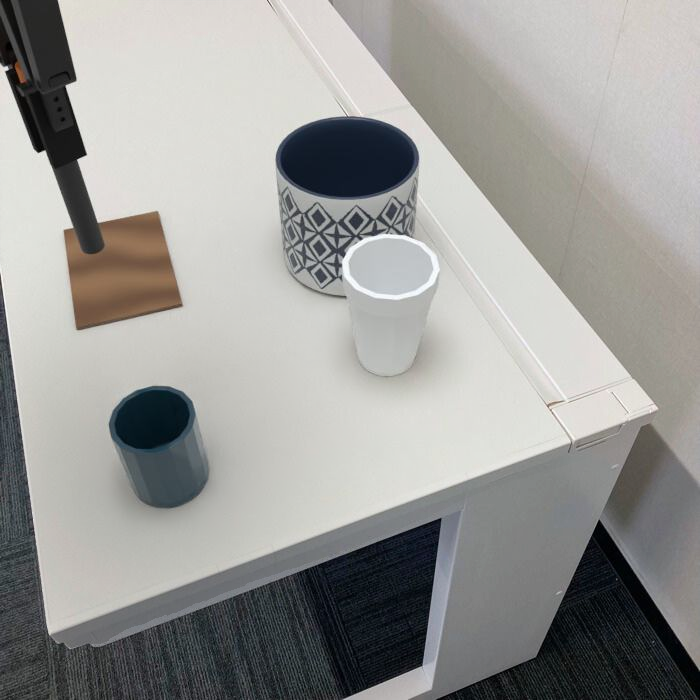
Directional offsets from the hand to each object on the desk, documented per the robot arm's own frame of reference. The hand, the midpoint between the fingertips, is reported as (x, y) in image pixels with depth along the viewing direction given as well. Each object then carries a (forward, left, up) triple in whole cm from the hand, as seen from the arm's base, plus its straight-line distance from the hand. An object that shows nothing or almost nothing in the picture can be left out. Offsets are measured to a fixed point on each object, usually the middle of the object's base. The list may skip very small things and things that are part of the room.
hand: (60, 151), depth 60 cm
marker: (0, 0, -10) cm, 10 cm away
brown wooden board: (+9, +18, -29) cm, 35 cm away
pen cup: (-3, -11, -29) cm, 31 cm away
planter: (+31, +1, -29) cm, 42 cm away
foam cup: (+22, -14, -29) cm, 40 cm away
